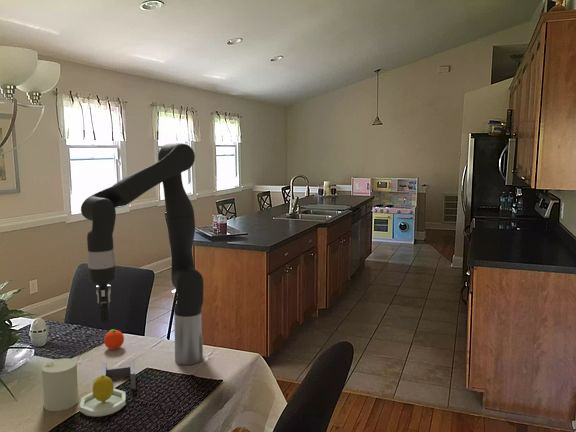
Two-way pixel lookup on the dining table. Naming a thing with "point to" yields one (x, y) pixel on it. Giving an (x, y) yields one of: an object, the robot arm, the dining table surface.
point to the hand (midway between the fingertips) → (105, 317)
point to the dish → (102, 404)
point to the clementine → (113, 339)
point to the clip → (120, 372)
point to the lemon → (102, 388)
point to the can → (60, 384)
